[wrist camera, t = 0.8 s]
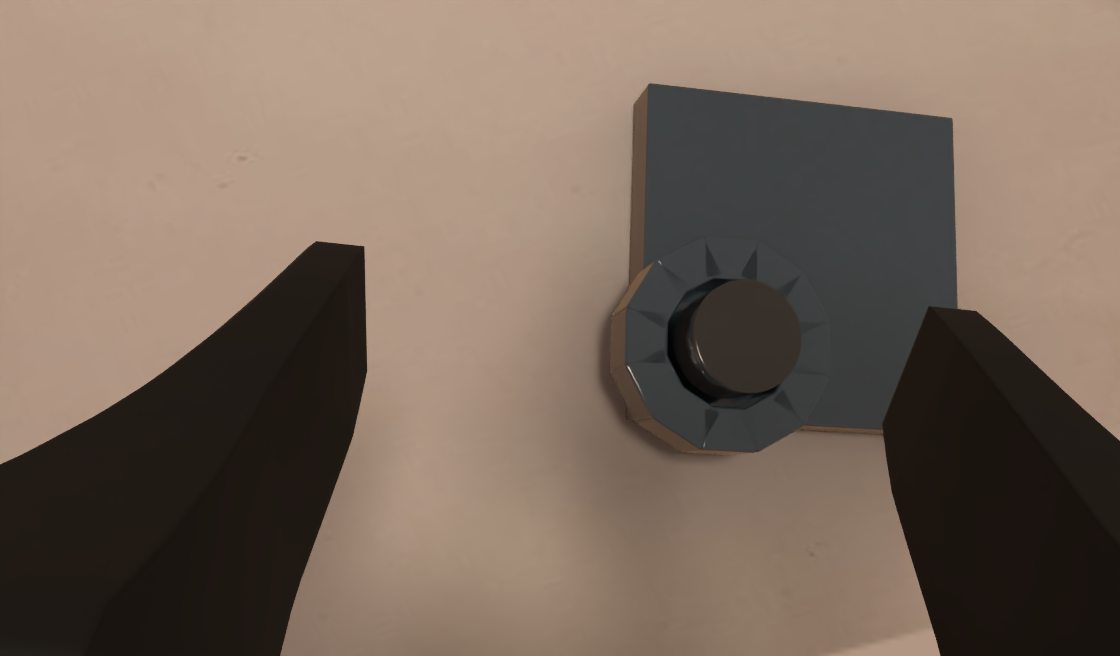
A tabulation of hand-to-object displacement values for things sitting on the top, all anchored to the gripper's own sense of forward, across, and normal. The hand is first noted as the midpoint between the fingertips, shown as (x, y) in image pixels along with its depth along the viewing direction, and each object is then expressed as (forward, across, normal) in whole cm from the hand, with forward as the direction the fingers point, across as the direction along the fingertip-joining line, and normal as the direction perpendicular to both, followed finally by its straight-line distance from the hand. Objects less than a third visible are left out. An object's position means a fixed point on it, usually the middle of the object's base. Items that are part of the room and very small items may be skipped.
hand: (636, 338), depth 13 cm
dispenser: (+17, -6, +10) cm, 20 cm away
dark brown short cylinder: (+12, -4, +9) cm, 16 cm away
